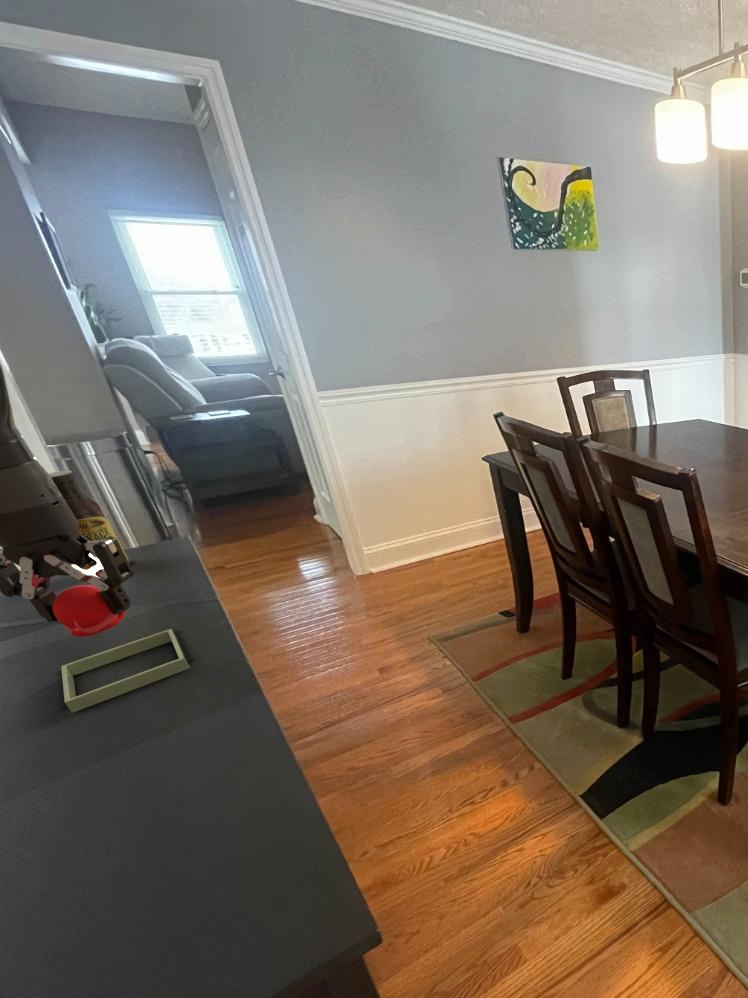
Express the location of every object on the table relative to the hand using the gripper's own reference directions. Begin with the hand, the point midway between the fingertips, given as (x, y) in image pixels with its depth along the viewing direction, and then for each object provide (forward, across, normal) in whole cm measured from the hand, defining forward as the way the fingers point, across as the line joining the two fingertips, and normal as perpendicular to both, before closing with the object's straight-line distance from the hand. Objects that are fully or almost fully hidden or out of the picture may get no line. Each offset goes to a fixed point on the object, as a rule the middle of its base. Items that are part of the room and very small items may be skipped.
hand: (90, 614), depth 80 cm
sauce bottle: (+10, -26, +38) cm, 47 cm away
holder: (+10, 0, 0) cm, 10 cm away
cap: (+2, 0, 0) cm, 2 cm away
